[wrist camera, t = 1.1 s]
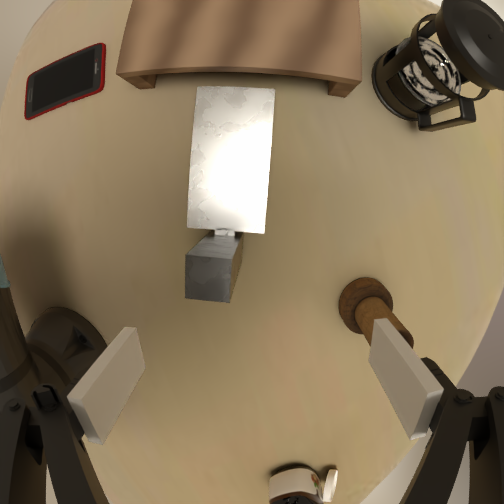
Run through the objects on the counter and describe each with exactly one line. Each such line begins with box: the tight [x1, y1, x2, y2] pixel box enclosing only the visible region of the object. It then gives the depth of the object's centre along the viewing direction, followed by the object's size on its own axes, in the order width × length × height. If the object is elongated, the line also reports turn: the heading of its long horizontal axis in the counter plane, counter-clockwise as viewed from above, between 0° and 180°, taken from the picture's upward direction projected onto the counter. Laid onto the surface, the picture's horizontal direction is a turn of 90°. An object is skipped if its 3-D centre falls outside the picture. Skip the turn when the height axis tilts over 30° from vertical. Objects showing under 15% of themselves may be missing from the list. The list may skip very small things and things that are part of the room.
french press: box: [372, 0, 504, 132], centre depth 18 cm, size 12×9×23 cm
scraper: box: [185, 86, 275, 303], centre depth 27 cm, size 8×19×12 cm, turn 176°
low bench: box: [116, 0, 362, 98], centre depth 25 cm, size 24×12×6 cm, turn 86°
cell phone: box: [24, 43, 106, 120], centre depth 30 cm, size 8×15×1 cm, turn 95°
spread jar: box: [269, 466, 338, 504], centre depth 38 cm, size 12×11×12 cm
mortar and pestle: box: [339, 278, 414, 349], centre depth 26 cm, size 7×6×18 cm
